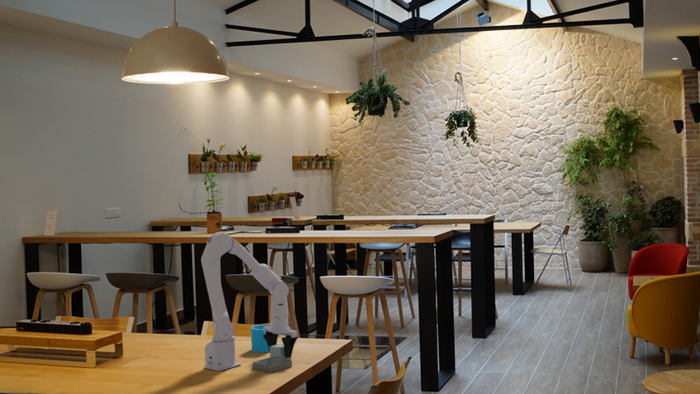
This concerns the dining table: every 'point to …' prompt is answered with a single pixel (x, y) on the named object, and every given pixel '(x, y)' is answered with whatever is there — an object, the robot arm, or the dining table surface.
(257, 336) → the mug
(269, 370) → the slate base
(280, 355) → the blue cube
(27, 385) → the dining table surface
